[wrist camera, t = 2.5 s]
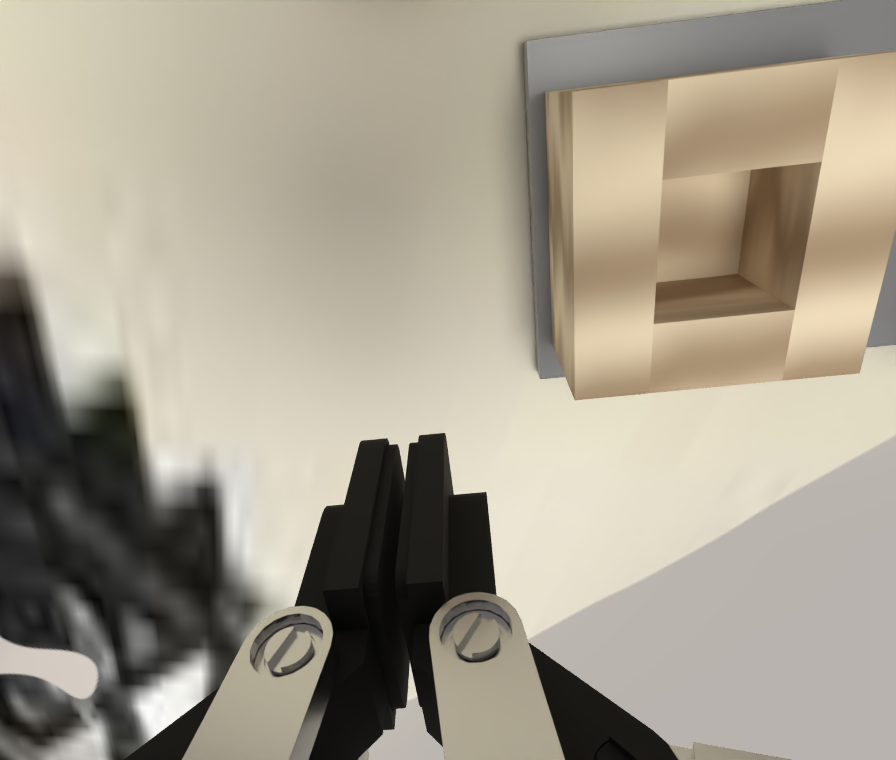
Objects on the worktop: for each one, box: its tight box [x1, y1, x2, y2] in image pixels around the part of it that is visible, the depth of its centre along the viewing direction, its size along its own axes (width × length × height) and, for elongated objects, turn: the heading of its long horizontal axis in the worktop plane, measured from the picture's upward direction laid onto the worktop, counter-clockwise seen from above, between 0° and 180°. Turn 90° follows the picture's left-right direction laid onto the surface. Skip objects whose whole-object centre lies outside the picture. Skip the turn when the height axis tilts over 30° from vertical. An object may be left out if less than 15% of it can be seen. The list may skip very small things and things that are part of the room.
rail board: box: [523, 0, 896, 379], centre depth 23 cm, size 16×22×9 cm
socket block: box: [545, 51, 896, 400], centre depth 24 cm, size 12×12×6 cm
